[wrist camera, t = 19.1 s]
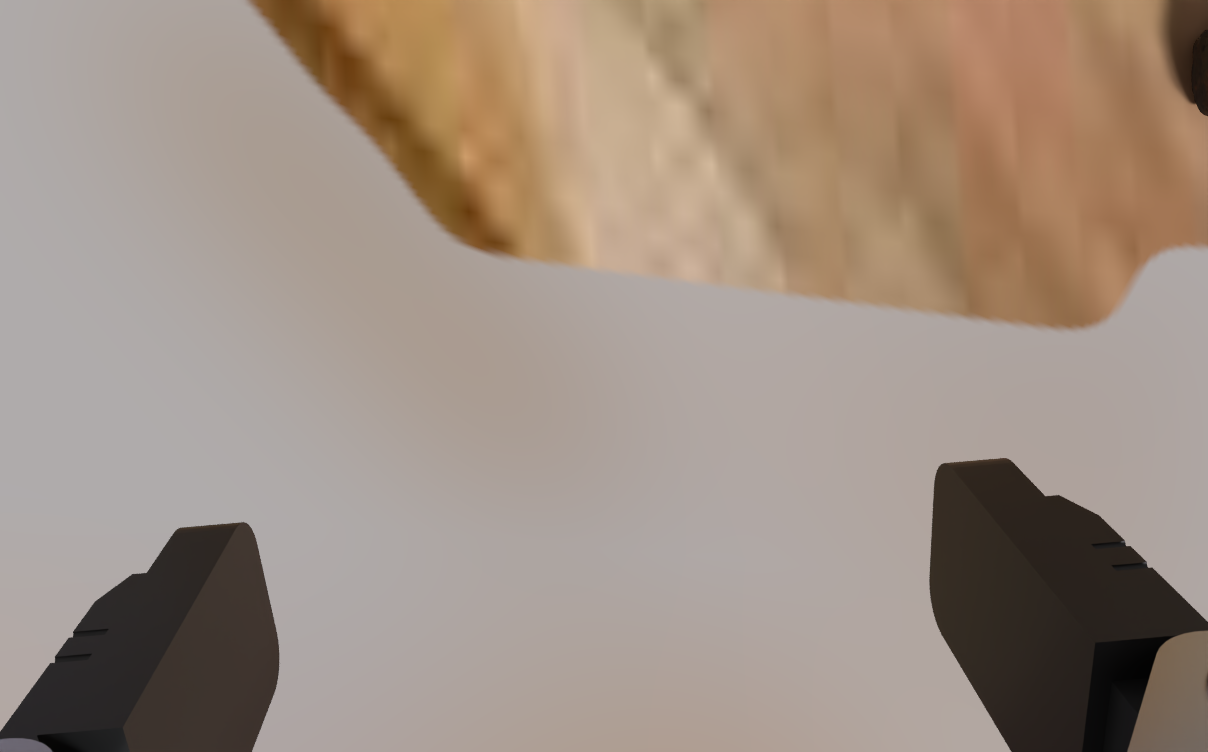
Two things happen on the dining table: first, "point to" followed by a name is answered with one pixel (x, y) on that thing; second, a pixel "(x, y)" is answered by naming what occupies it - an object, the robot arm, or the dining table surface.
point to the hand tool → (1200, 73)
